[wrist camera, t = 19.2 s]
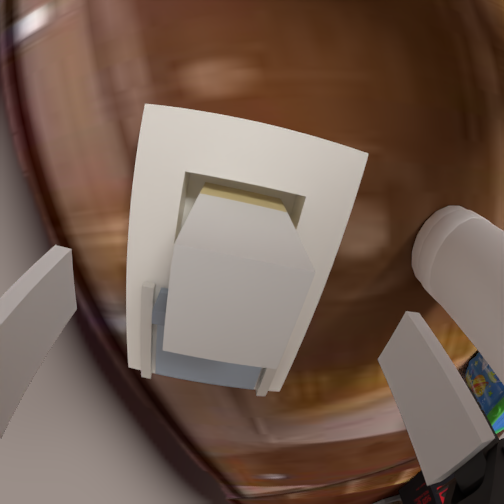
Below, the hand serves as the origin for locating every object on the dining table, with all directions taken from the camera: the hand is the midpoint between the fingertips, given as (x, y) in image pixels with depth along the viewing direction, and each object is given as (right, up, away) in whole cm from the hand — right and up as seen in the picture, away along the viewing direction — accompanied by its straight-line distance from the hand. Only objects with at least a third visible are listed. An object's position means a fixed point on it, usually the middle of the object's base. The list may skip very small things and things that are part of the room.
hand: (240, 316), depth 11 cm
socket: (-1, +2, +11) cm, 12 cm away
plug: (-1, +4, +10) cm, 11 cm away
